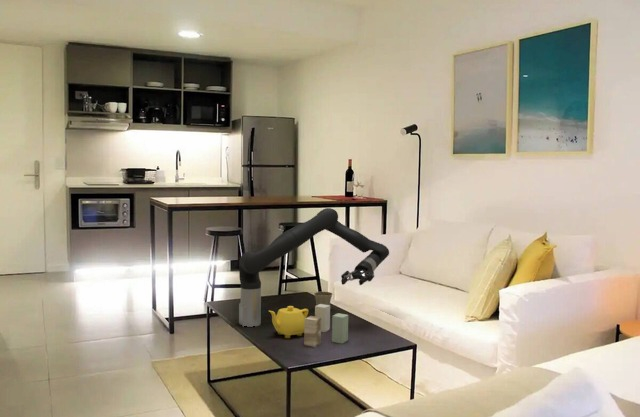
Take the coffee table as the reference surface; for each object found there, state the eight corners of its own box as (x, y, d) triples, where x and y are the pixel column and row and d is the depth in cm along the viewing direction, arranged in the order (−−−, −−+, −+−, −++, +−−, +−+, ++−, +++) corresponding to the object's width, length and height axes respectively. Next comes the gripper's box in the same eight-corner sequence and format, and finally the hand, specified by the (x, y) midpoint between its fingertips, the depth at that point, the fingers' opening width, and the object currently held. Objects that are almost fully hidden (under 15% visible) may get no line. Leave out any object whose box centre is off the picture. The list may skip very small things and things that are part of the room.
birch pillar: (314, 346, 227) (315, 320, 227) (304, 344, 230) (304, 318, 229) (320, 343, 232) (321, 317, 231) (310, 341, 234) (310, 315, 233)
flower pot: (319, 313, 278) (319, 296, 277) (310, 309, 286) (310, 292, 286) (335, 311, 282) (335, 294, 282) (326, 307, 291) (327, 290, 290)
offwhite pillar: (324, 332, 248) (325, 307, 247) (314, 330, 250) (315, 306, 249) (329, 329, 252) (330, 305, 251) (319, 327, 254) (320, 303, 254)
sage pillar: (342, 343, 232) (343, 317, 232) (331, 341, 235) (332, 315, 234) (347, 340, 237) (348, 314, 236) (337, 338, 239) (337, 313, 238)
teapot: (260, 334, 243) (261, 306, 242) (299, 327, 254) (300, 300, 253) (276, 342, 232) (276, 313, 231) (316, 335, 243) (316, 307, 242)
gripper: (350, 260, 262) (335, 274, 248) (378, 260, 255) (364, 275, 241) (353, 275, 264) (338, 290, 250) (381, 275, 257) (367, 291, 243)
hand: (351, 282), depth 246 cm, fingers open, 8 cm apart
